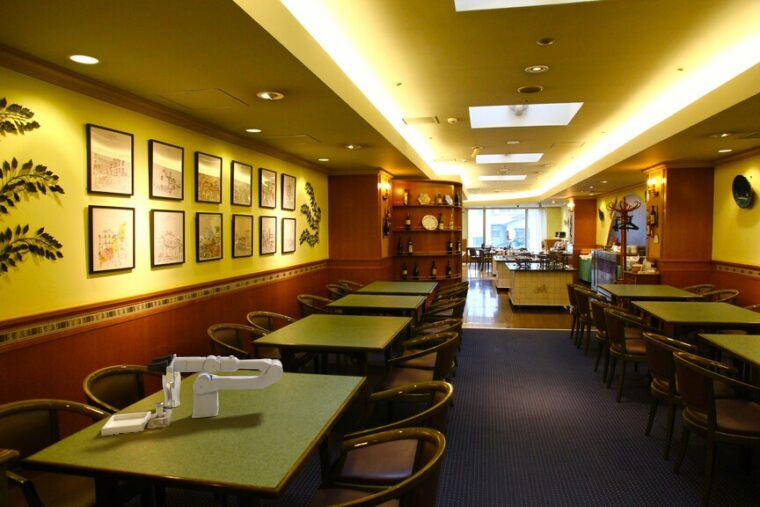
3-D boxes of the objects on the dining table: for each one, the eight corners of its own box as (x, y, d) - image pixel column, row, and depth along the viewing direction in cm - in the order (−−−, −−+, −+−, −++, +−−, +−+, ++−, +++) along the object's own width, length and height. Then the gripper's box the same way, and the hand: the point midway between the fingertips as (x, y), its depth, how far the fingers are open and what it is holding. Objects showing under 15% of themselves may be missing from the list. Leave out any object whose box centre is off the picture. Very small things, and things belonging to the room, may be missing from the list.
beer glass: (159, 407, 198) (158, 371, 197) (172, 401, 204) (171, 367, 203) (172, 409, 195) (171, 373, 194) (185, 403, 201) (183, 368, 201)
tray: (151, 417, 186) (151, 411, 186) (142, 431, 173) (142, 424, 173) (113, 421, 183) (112, 415, 183) (101, 435, 170) (101, 429, 170)
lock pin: (165, 421, 182) (164, 401, 181) (163, 425, 179) (162, 404, 178) (156, 422, 181) (155, 402, 181) (154, 426, 178) (153, 405, 178)
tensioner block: (174, 412, 191) (174, 405, 191) (168, 426, 177) (167, 418, 177) (156, 414, 189) (155, 407, 189) (147, 428, 176) (147, 420, 175)
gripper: (190, 349, 194) (154, 349, 191) (184, 359, 180) (145, 359, 177) (189, 366, 194) (153, 367, 191) (183, 377, 180) (145, 378, 177)
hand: (149, 364), depth 184 cm, fingers open, 7 cm apart
